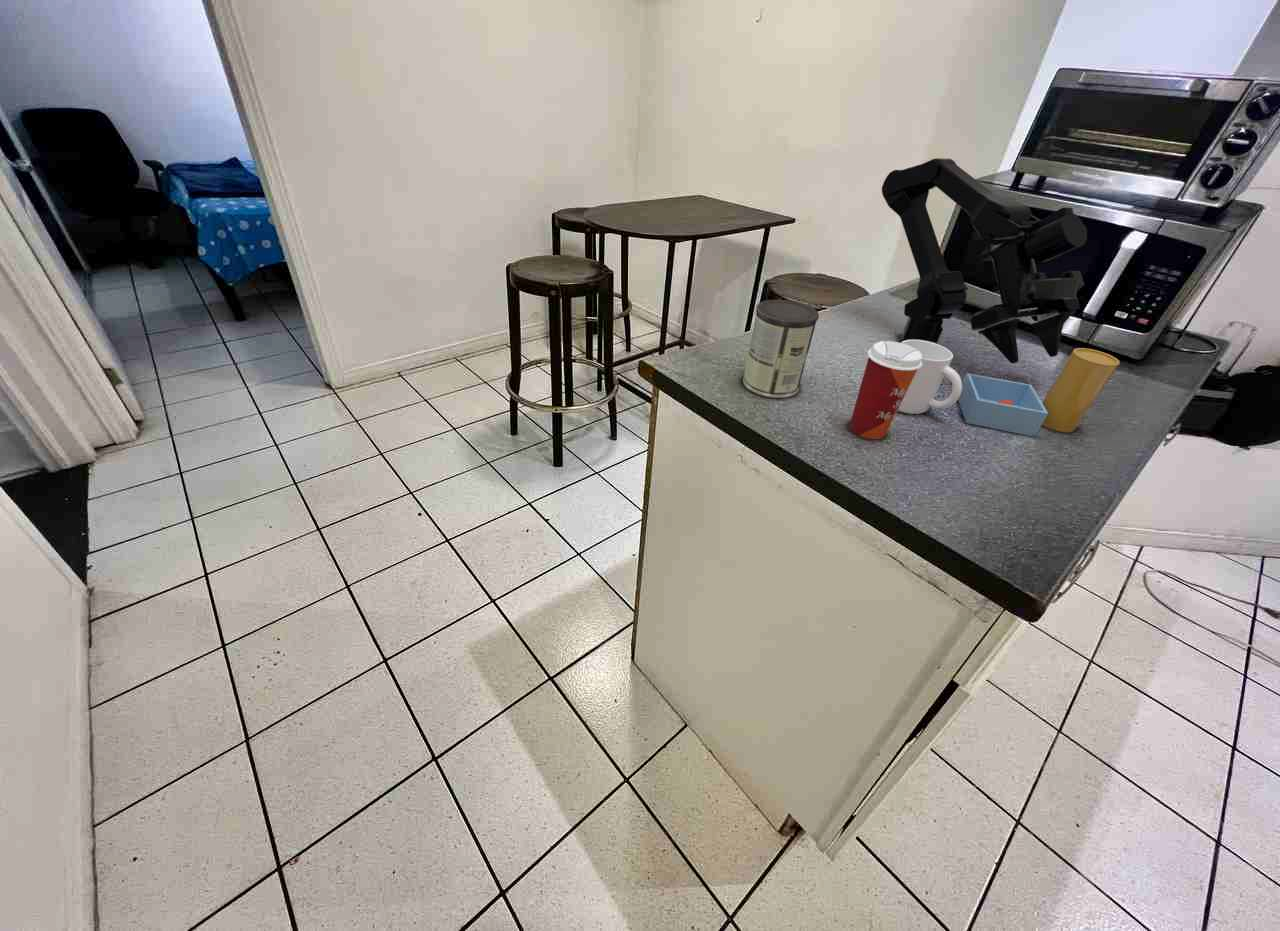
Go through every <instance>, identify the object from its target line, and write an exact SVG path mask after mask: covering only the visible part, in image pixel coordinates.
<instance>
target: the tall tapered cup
mask: <svg viewBox="0 0 1280 931" xmlns="http://www.w3.org/2000/svg"><path fill="white" fill-rule="evenodd" d="M1120 362H1121V361H1120V360H1119V359H1118V358H1116V357H1114V355H1111V354H1109V353H1106V352H1103V351H1100V350H1097V349H1092V348H1087V347H1077V348H1074V349H1073V350H1072V352H1071V354H1070V355H1069V357H1068V359H1067V360H1066V362H1065V364H1064V365H1063V367H1062V368H1061V370H1060V372H1059V373H1058V375H1057V377H1056V379H1055V380H1054V382H1053V383H1052V385H1051V387H1050V388H1049V390H1048V392H1047V393H1046V395H1045V396H1044V398H1043V400H1042V401H1041V402H1042V404H1043V405H1044V407H1045V409H1046V410H1047V412H1048V415H1047V416H1046V418H1045V420H1044V421H1043V423H1042V425H1041V426H1043V427H1044V428H1047V429H1050V430H1051V431H1055V432H1059V433H1060V432H1061V433H1073V432H1074V431H1075V430H1076V429H1077V428H1078V426H1079V424H1080V423H1081V422H1082V421H1083V418H1084V417H1085V415H1086V414H1087V412H1088V411H1089V409H1090V408H1091V407H1092V405H1093V403H1094V402H1095V400H1096V399H1097V398H1098V396H1099V394H1100V393H1101V392H1102V390H1103V389H1104V387H1105V386H1106V384H1107V382H1108V381H1109V380H1110V378H1112V377H1111V376H1112V375H1113V374H1114V372H1115V371H1116V369H1117V368H1118V366H1120Z"/></svg>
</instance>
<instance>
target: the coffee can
mask: <svg viewBox="0 0 1280 931" xmlns="http://www.w3.org/2000/svg"><path fill="white" fill-rule="evenodd" d="M819 316H820V314H819V312H818V311H817V310H816V309H815V308H813V307H812V306H810V305H808V304H805V303H802V302H798V301H794V300H787V299H768V300H763V301H761V302H759V303H757V305H756V308H755V316H754V321H753V327H752V328H753V329H752V333H751V336H750V342H749V343H750V344H749V349H748V355H747V360H746V364H745V369H744V374H743V378H742V383H743V385H744V386H745V388H746V389H748V390H749V391H750V392H752V393H755V394H756V395H759V396H763V397H766V398H771V399H772V398H773V399H784V398H785V399H786V398H790V397H792V396H795V395H796V394H797V393H798V392H799V390H800V384H801V380H802V377H803V373H804V370H805V365H806V361H807V358H808V354H809V352H810V351H809V350H810V348H811V347H810V346H811V343H812V339H813V336H814V332H815V328H816V325H817V322H818V319H819Z"/></svg>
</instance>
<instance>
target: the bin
mask: <svg viewBox="0 0 1280 931" xmlns="http://www.w3.org/2000/svg"><path fill="white" fill-rule="evenodd" d="M1004 399H1007V400H1010V401H1012V402H1013V403H1014V405H1015V406H1012V405H1007V404H1002V403H997V402H998V401H1000V400H1004ZM957 401H958V404H959V406H960V410H961V413H962V415H963V418H964V421H965V424H970V425H974V426H978V427H985V428H990V429H995V430H999V431H1003V432H1004V431H1006V432H1010V433H1014V434H1015V433H1016V434H1018V435H1019V434H1020V435H1025V436H1029V437H1035V436H1036V434H1037V433H1038V431H1039V429H1040V428H1041V426H1043V425H1042V423H1043V421H1044V420H1045V418H1046V416H1047V415H1048V412H1047V410H1046V409H1045V407H1044V405H1043V404H1042V402H1043V401H1042V400H1041V398H1040V397H1039V395H1038V393H1037V392H1036V390H1035V388H1034V386H1033V385H1032V384H1028V383H1023V382H1018V381H1012V380H1007V379H1001V378H995V377H990V376H986V375H979V374H974V373H966V375H965V377H964V379H963V380H962V391H961V394H960V397H959V398H958V400H957Z"/></svg>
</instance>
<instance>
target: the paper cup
mask: <svg viewBox="0 0 1280 931" xmlns="http://www.w3.org/2000/svg"><path fill="white" fill-rule="evenodd" d="M867 356H868V358H867V362H866V365H865V369H864V372H863V375H862V378H861V379H862V380H861V383H860V387H859V390H858V393H857V397H856V401H855V404H854V408H853V412H852V416H851V419H850V423H849V428H850V430H851V431H852V432H853V433H854V434H855V435H857V436H859V437H862V438H864V439H867V440H881V439H882V438H884V436H886V434H887V432H888V430H889V428H890V426H891V424H892V422H893V421H894V419H895V416H896V415H897V412H898V411H897V410H898V408H899V406H900V404H901V402H902V400H903V398H904V396H905V394H906V392H907V390H908V388H909V386H910V384H911V382H912V380H913V378H914V376H915V374H916V372H917V370H918V369H919V368H921V366H922V361H921V359H922V354H921V353H920V352H919V351H918V350H917V349H915V348H913V347H911V346H909V345H906V344H902V343H901V342H897V341H891V340H890V341H889V340H883V341H882V340H881V341H877V342H875V343H874V344H873V346H872V347H871V348H870V349H869V350H868V351H867Z"/></svg>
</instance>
